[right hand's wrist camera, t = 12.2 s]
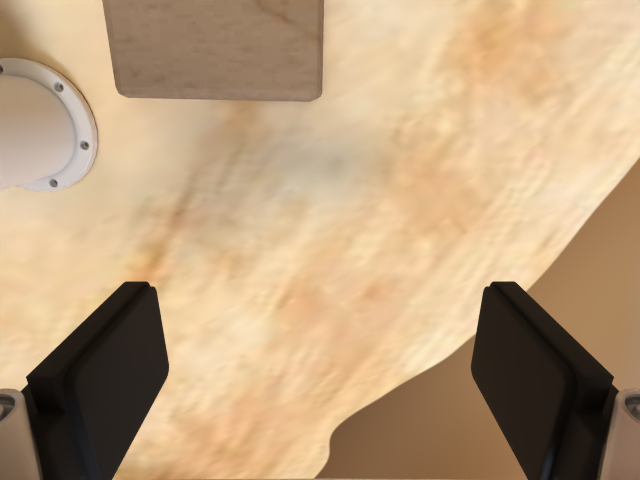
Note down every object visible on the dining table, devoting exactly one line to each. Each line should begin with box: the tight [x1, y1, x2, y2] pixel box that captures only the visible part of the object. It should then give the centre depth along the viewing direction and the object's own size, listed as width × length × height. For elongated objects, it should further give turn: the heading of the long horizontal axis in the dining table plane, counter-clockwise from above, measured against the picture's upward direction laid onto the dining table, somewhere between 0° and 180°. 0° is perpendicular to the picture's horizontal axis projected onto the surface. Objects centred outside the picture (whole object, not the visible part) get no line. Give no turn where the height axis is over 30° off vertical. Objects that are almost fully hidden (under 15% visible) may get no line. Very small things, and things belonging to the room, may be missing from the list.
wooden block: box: [102, 0, 324, 102], centre depth 26 cm, size 10×10×20 cm
